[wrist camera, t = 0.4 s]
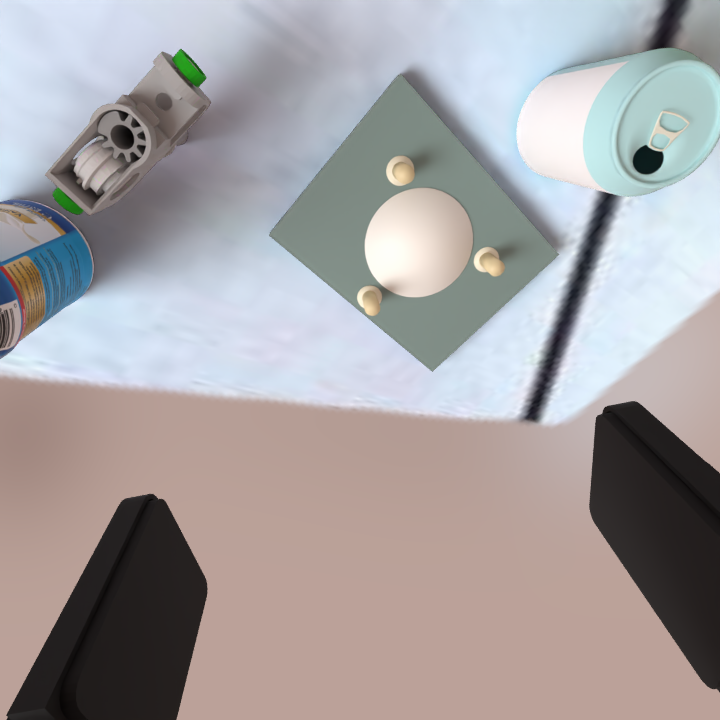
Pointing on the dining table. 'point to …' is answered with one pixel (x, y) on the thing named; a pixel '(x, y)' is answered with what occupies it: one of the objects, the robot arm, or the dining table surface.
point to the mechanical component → (130, 136)
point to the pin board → (413, 229)
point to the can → (623, 122)
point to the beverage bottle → (38, 268)
